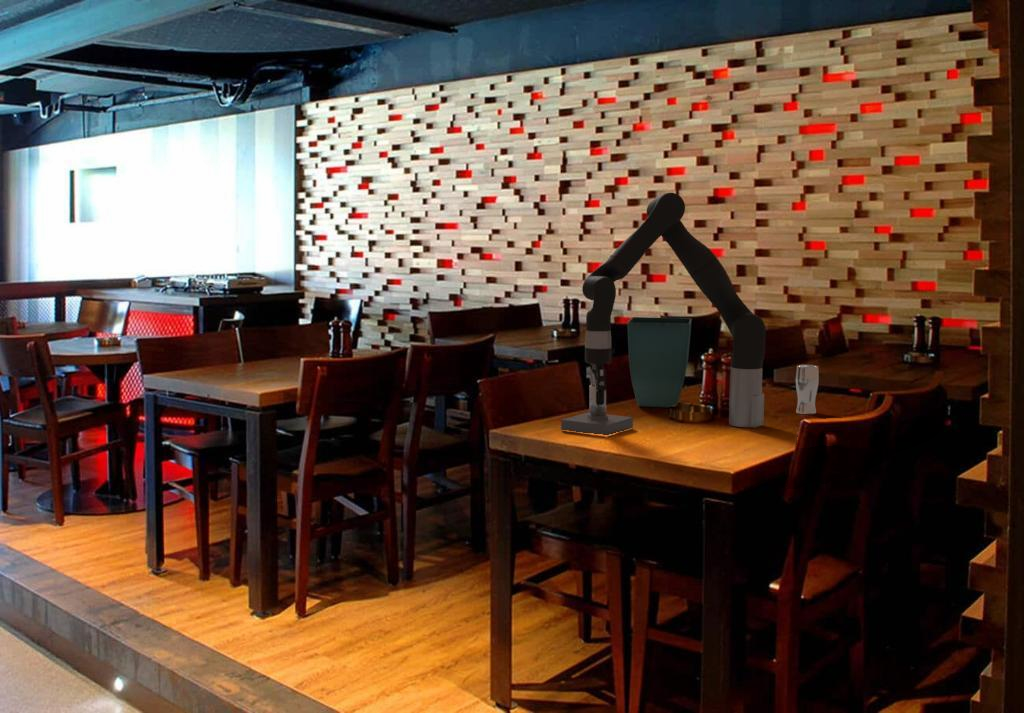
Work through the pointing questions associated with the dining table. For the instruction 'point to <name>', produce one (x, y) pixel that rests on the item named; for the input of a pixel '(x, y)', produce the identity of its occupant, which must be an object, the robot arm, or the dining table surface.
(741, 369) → the robot arm
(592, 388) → the salt shaker
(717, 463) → the dining table surface
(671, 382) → the flower pot
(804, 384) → the beer glass
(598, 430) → the slate block
